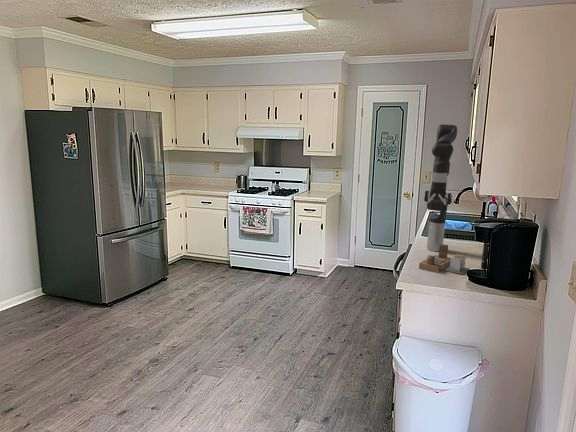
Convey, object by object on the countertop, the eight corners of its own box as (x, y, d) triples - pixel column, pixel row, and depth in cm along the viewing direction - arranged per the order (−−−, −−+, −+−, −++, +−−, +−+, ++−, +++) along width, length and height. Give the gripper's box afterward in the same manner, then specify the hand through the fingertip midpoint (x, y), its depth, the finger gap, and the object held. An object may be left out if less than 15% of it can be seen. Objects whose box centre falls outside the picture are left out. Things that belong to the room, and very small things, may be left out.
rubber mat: (452, 266, 229) (452, 264, 229) (469, 269, 224) (470, 268, 223) (444, 271, 220) (444, 269, 220) (462, 275, 215) (462, 273, 214)
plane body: (435, 259, 240) (436, 242, 238) (453, 263, 234) (454, 245, 232) (418, 268, 224) (420, 249, 222) (437, 272, 217) (439, 253, 215)
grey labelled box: (454, 266, 226) (456, 253, 225) (464, 268, 223) (465, 255, 222) (449, 269, 220) (450, 256, 219) (459, 271, 217) (460, 258, 216)
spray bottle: (477, 267, 229) (482, 221, 224) (496, 268, 228) (502, 222, 224) (485, 273, 219) (491, 225, 214) (505, 274, 218) (511, 226, 214)
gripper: (455, 181, 229) (452, 211, 233) (429, 179, 238) (426, 208, 241) (450, 182, 224) (447, 213, 227) (424, 180, 233) (421, 209, 236)
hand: (436, 210), depth 234 cm, fingers open, 8 cm apart
